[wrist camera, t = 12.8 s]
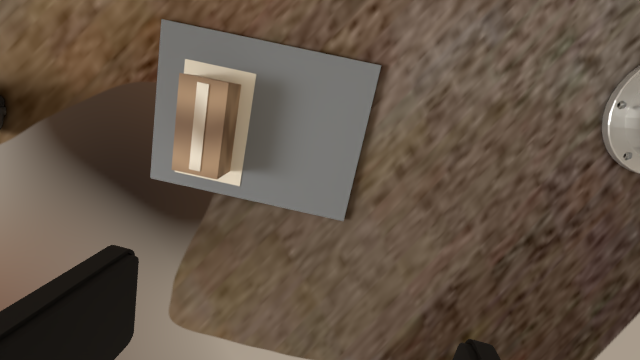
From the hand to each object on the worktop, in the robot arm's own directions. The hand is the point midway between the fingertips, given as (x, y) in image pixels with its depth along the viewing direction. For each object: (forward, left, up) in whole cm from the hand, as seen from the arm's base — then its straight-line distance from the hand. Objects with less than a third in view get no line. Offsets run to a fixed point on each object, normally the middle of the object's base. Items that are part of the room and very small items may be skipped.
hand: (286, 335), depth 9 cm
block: (+14, -1, -29) cm, 32 cm away
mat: (+9, -2, -29) cm, 31 cm away
